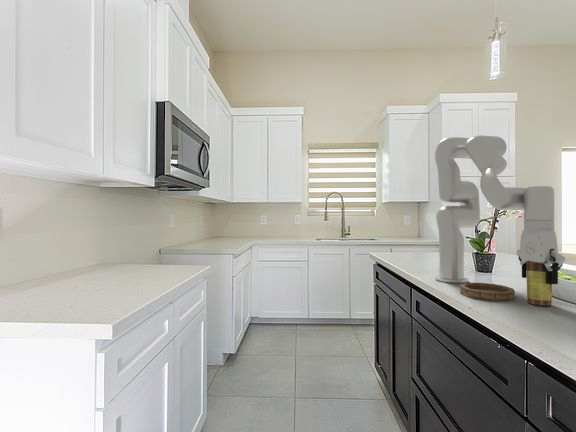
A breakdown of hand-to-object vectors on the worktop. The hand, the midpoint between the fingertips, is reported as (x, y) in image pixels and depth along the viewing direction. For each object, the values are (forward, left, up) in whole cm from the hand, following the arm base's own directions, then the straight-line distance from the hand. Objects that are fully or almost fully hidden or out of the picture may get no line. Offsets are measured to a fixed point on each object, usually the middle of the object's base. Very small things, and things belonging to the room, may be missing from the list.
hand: (538, 280), depth 102 cm
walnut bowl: (-12, -9, -7) cm, 17 cm away
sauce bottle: (0, 0, -7) cm, 7 cm away
